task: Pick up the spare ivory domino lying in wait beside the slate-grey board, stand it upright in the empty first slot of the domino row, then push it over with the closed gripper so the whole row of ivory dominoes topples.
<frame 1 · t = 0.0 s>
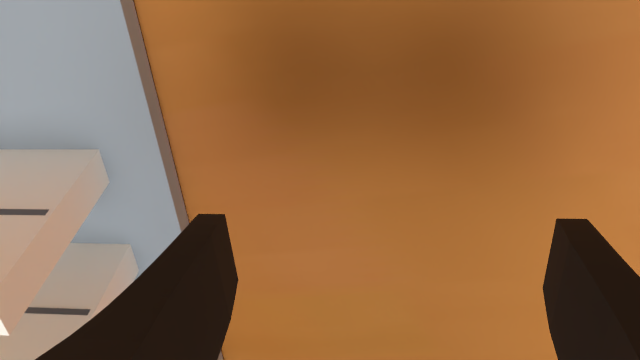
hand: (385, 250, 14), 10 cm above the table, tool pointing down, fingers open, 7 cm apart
end domino: (46, 165, 25), point 1 cm above the table, touching domino board
domino board: (103, 272, 30), on the table
domino 3: (82, 256, 28), point 1 cm above the table, touching domino board
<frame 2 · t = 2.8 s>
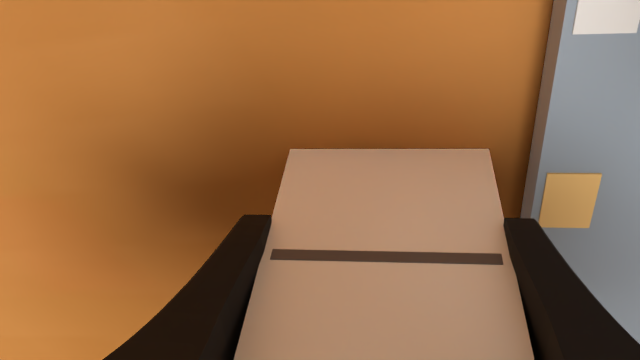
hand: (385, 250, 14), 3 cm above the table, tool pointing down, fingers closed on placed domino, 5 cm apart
placed domino: (387, 174, 16), on the table, touching gripper
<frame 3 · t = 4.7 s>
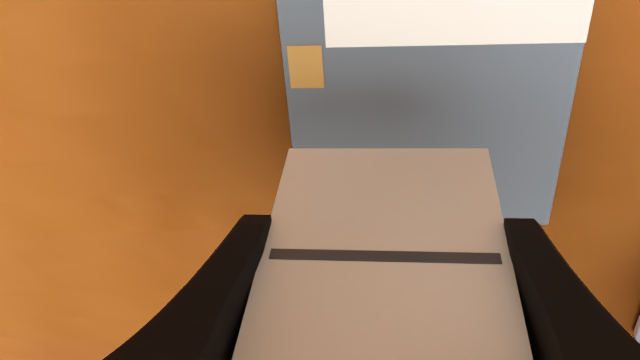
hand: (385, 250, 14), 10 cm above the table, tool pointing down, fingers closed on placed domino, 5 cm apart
placed domino: (386, 174, 16), point 7 cm above the table, touching gripper
when the fingers open (5 cm above the table, at t = 6.7 s): placed domino stays where it is, resting on domino board.
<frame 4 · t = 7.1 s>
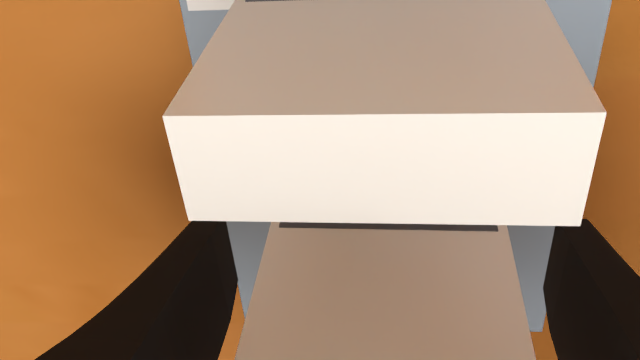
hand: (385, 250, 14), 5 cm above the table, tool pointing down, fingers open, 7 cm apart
placed domino: (389, 153, 17), point 1 cm above the table, touching domino board
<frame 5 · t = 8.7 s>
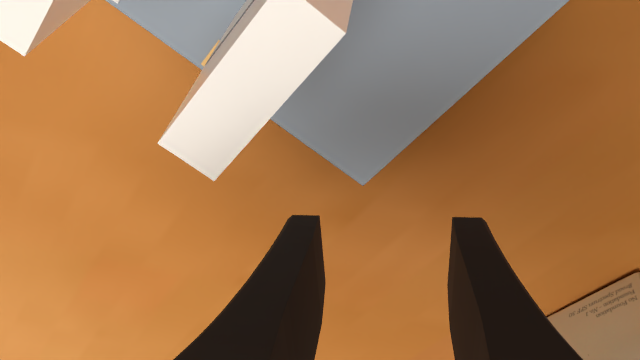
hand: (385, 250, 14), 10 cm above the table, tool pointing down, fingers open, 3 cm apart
skincare box: (604, 320, 29), on the table
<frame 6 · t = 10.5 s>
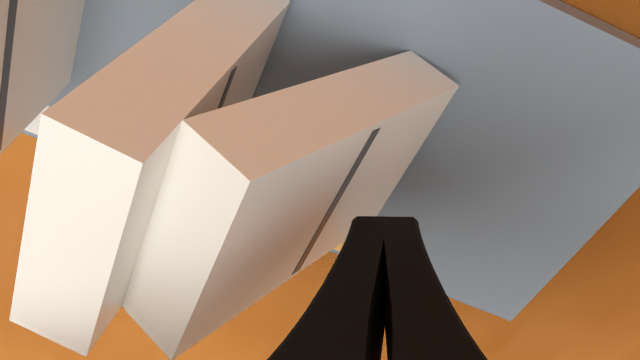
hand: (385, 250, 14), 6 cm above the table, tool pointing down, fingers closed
domino board: (140, 9, 17), on the table
placed domino: (391, 141, 17), point 1 cm above the table, tilted 32°, touching domino board
domino 2: (231, 69, 17), point 1 cm above the table, tilted 8°, touching domino board
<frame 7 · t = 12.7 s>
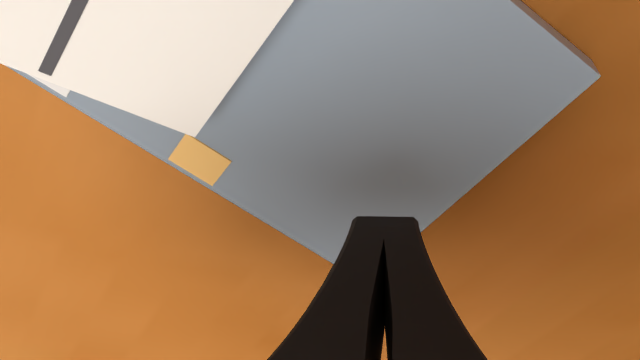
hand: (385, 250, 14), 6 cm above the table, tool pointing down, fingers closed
placed domino: (240, 52, 16), point 2 cm above the table, tilted 71°, touching domino 2, domino board
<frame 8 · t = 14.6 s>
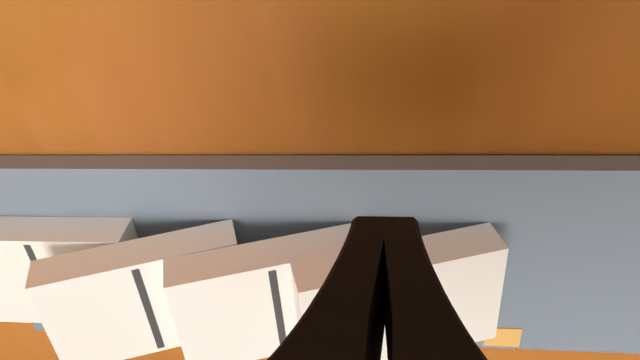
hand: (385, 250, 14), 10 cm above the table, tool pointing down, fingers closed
end domino: (139, 273, 27), point 2 cm above the table, tilted 90°, touching domino 3, domino board
domino board: (323, 249, 27), on the table
placed domino: (492, 281, 25), point 2 cm above the table, tilted 71°, touching domino 2, domino board
domino 3: (243, 275, 26), point 2 cm above the table, tilted 70°, touching domino 2, domino board, end domino
domino 2: (370, 278, 25), point 2 cm above the table, tilted 72°, touching domino 3, domino board, placed domino
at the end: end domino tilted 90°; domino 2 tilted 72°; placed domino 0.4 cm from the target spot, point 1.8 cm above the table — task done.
